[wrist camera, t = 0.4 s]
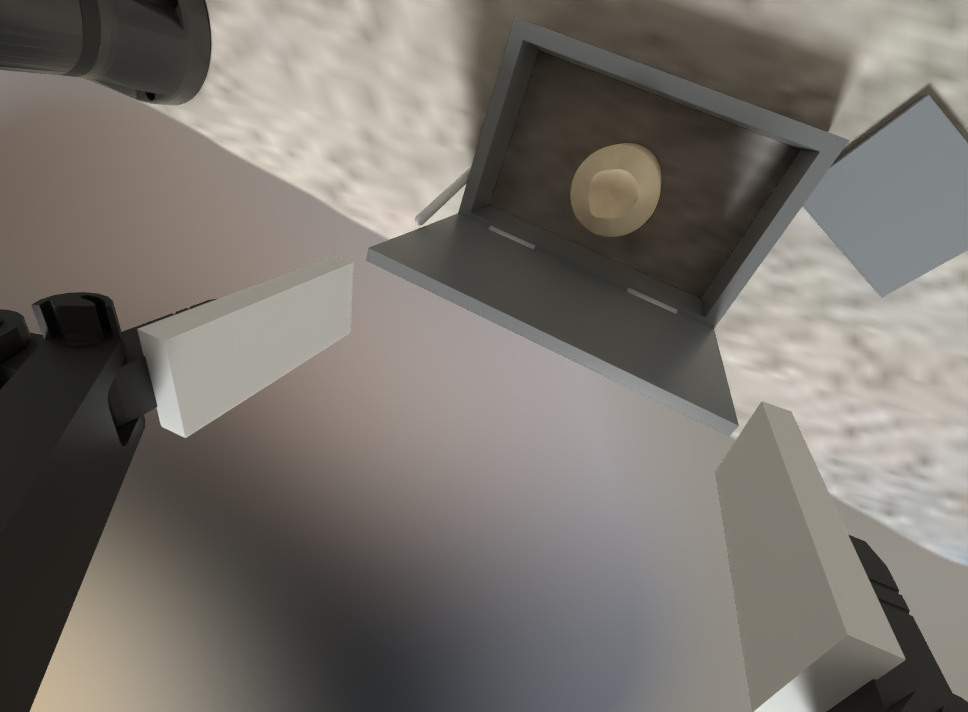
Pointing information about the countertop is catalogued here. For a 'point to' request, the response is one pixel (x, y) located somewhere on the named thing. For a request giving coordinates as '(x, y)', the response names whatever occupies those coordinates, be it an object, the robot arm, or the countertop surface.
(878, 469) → the countertop surface
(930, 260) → the mat
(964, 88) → the countertop surface
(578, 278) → the case
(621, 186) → the candle
